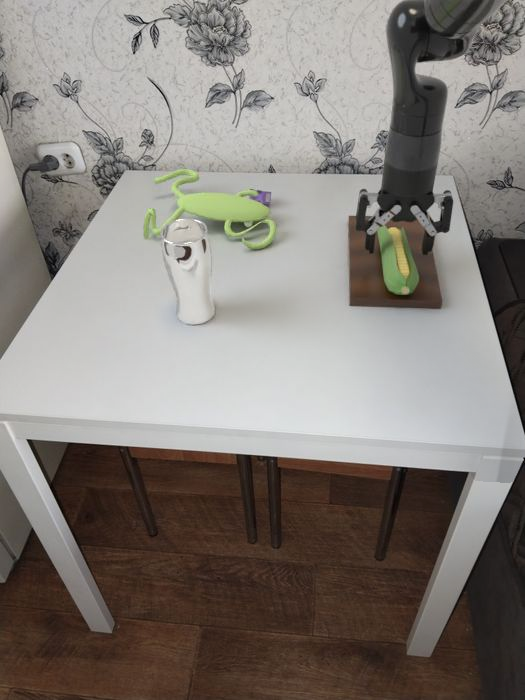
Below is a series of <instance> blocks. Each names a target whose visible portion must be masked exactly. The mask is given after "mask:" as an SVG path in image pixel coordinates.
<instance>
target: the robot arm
mask: <svg viewBox="0 0 525 700" xmlns="http://www.w3.org/2000/svg"><path fill="white" fill-rule="evenodd" d="M506 2H507V0H402V1H399V2H398V3H397V4H396V5H395V6H394V8H393V9H392V10H391V12H390V13H389V16H388V19H387V22H386V27H385V37H386V44H387V51H388V57H389V61H390V69H391V79H392V103H391V104H392V106H391V112H390V113H391V114H390V122H389V129H388V131H387V136H386V143H385V146H384V157H383V158H384V161H383V168H382V175H381V176H382V177H381V184H380V185H381V187H380V189H379V191H378V192H368V190H367V189H366V188H362V189H360V190H359V194H358V200H357V207H356V213H355V216H356V219H355V223H356V230H357V231H364V232H366V236H365V248H366V250H369V253H371V254H373V253H374V244H375V232H376V231H377V230H378V229H379V228H380V227H383V226H384V225H385V224H386V223H387V222H388V221H389V220H393V222H400V221H406V222H413V221H414V220H417V219H418V221H419V222H420V224H421V225H422V227H423V228H425V232H424V238H423V244H422V253H423V255H428V252H431V251H432V250H434V244H435V239H436V236H437V235H438V234H439V233H443V234H447V233H449V232H450V230H451V222H452V215H453V208H454V198H453V193H452V191H451V190H449V189H446V190H444V191H443V193H434V186H435V180H436V174H437V170H438V164H439V158H440V152H441V148H442V139H443V138H442V132H443V127H444V119H445V114H446V108H447V102H448V97H449V89H448V86H447V84H446V83H445V81H443V80H442V79H440V78H437V77H434V76H429V75H425V74H419V73H416V66H417V64H420V63H421V64H422V63H432V62H433V63H435V62H447V61H452V60H455V59H458V58H460V57H462V56H464V55H465V54H467V53H468V52H469V50H470V49H471V47H472V45H473V42H474V39H475V36H476V34H477V33H478V30H479V28H480V27H481V26H482V24H484V23H485V22H486V21H488V19H490V17H492V16H493V15H494V14H496V13H497V12H498V10H500V9H501V8H502V6H504V4H505V3H506ZM374 203H377V205H378V206H379V207H378V208H377V209H375V212H374V213H373V215H371V216H372V217H371V218H370V219H369V220H365V216H367V215H366V214H367V209H369V208H371V207H372V206H373V204H374ZM434 204H436V205H437V207H438V208H439V209H440V215H439V220H436V221H435V220H434V219H433V218H432V216H431V214H430V212H429V211H428V210H429V209H430V208H431V207H433V206H434Z"/></svg>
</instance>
